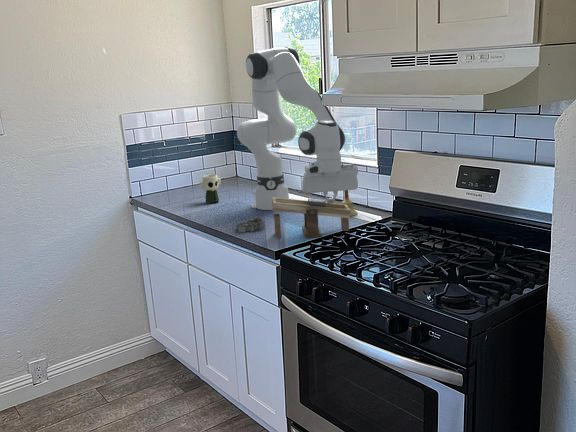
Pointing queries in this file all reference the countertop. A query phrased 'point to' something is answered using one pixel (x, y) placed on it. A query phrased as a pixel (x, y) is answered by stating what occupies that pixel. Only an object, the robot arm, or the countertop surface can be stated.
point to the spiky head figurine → (210, 187)
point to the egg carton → (250, 225)
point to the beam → (301, 207)
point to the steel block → (316, 202)
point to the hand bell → (349, 204)
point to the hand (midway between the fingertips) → (330, 203)
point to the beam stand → (309, 224)
